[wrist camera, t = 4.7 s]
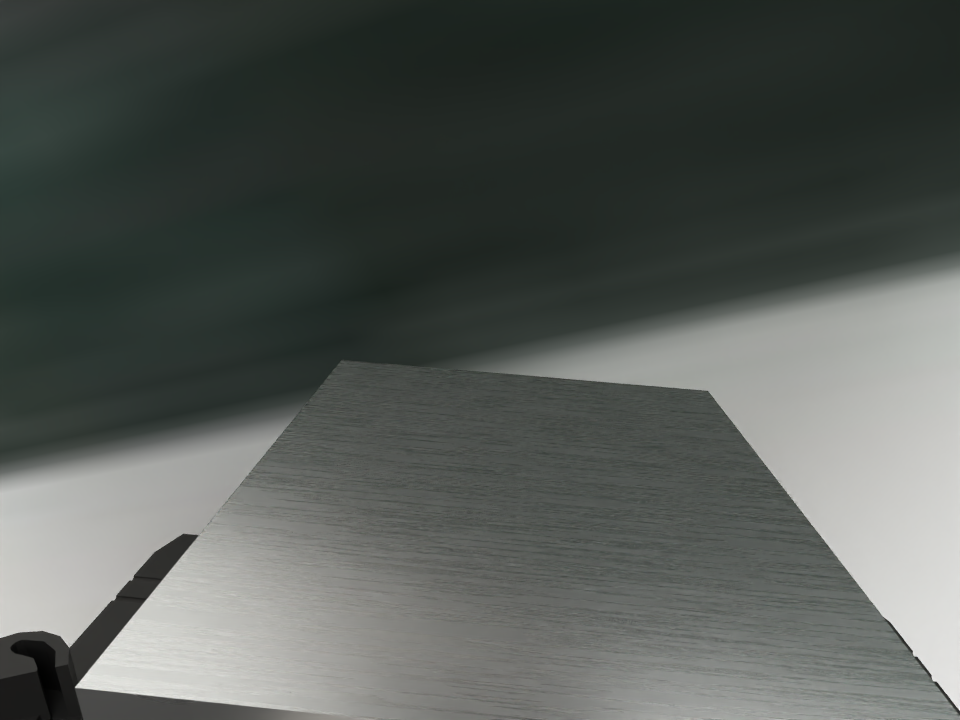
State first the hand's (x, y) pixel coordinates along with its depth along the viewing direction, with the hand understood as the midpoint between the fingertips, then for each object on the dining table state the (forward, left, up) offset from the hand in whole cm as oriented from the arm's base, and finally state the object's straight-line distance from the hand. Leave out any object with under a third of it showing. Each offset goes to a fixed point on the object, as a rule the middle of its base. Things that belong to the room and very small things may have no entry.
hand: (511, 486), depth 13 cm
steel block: (0, 0, 0) cm, 0 cm away
